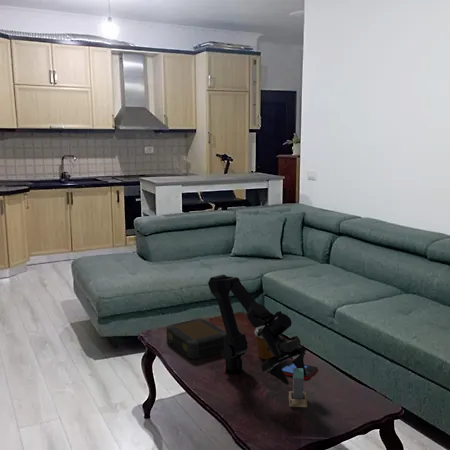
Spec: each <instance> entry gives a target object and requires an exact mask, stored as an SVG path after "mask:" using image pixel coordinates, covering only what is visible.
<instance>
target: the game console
mask: <svg viewBox="0 0 450 450" xmlns="http://www.w3.org/2000/svg"><path fill="white" fill-rule="evenodd" d="M292 361H293V360H289V359H287V360H285V361H283V362H280V363H281V368H282V371H283V372H284V374H285V376H286V377H287V376H288V377H293V368H296V366H295V365H294V364H293V363H292ZM304 366H305V371H306V376H304V381H306V380H308V379H309V378H311V377H312V376H313V375H314V374H315V373H316V371H318V370H319V369H318V368H319V367H318V366H313V365H309V364H305V363H304Z"/></svg>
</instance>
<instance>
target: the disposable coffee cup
mask: <svg viewBox="0 0 450 450" xmlns="http://www.w3.org/2000/svg"><path fill="white" fill-rule="evenodd" d="M264 326H265V325H264ZM264 326H260V327H255V330H254V335H255V339H256V340H255V341H256V342H255V343H256V348H257V349H256V350H257V356H258V358H259V359H261V360H267V359H269V358H271V357H274V356H273V354H272V352H271V351H268V350H267V348H268V345H267V344H266V342H265V340H264V338H263V337H262V336H259V337H258V336H257V334H258V329H260V328H263V327H264Z"/></svg>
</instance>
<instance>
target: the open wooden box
mask: <svg viewBox="0 0 450 450" xmlns="http://www.w3.org/2000/svg"><path fill="white" fill-rule="evenodd" d="M288 404H289V408H308V397H307V391H303V399H293V390H292V391H291V390H290V391H288Z"/></svg>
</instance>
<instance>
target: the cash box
mask: <svg viewBox="0 0 450 450" xmlns="http://www.w3.org/2000/svg"><path fill="white" fill-rule="evenodd" d="M165 329H166V330H165V331H166V342H167V341H168V342H170V343H171V344H172V345H174V346H175V347H176V348H177V350H178V349H179V350H180V351H181V352H180V351H179V350H178V351H179V352H180V353H182V352H183V353H184V354H185V355H184V354H183V353H182V354H183V355H184V356H186V357H187V358H188V357H189V358H188V359H190V358H191V359H190V360H196V359H201V358H203V357H204V356H205V357H208V356H211V354H212V355H215V354H218V353H221V351H222V350H223V349H224V348H226V347H225V339H226V330H223V329H222V328H219V327H218V326H216V325H215V324H213V323H211V322H210V321H208V320H207V319H205V318H202V317H200V318H199V317H198V318H195V319H191V320H187V321H186V320H185V321H181V322H178V323H173V324H169V325H167V326H166V328H165ZM168 342H167V343H168ZM170 343H169V344H170ZM171 344H170V345H171ZM172 345H171V346H172ZM174 346H173V347H174ZM175 347H174V348H175ZM176 348H175V349H176ZM205 357H204V358H205Z"/></svg>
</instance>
